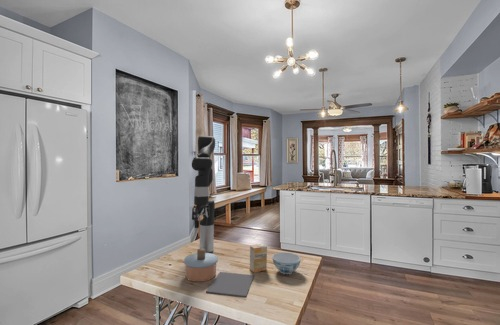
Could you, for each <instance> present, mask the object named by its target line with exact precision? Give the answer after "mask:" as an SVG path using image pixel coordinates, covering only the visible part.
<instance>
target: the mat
mask: <svg viewBox="0 0 500 325" xmlns="http://www.w3.org/2000/svg"><path fill="white" fill-rule="evenodd" d="M254 278H255V274H248V273H247V274H245V273H236V272H227V271H226V272H225V271H219V273H218V274H217V276H215V279H214V280H213V281H212V282H211V284H210V285H209V287H208V288H207V289H206V293H207V294H215V295H216V294H217V295H223V296H232V297H239V298H247V295H248V293H249V291H250V288H251V285H252V283H253V280H254Z"/></svg>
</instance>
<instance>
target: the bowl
mask: <svg viewBox="0 0 500 325" xmlns="http://www.w3.org/2000/svg"><path fill="white" fill-rule="evenodd" d="M216 274H217V263H216V264H214V265H212V266H209V267H205V268H192V267H188V266H186V265H185V278H186V279H187V280H188V281H191V282H198V283H200V282H207V281H209V280H212V279H214V277H216Z"/></svg>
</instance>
